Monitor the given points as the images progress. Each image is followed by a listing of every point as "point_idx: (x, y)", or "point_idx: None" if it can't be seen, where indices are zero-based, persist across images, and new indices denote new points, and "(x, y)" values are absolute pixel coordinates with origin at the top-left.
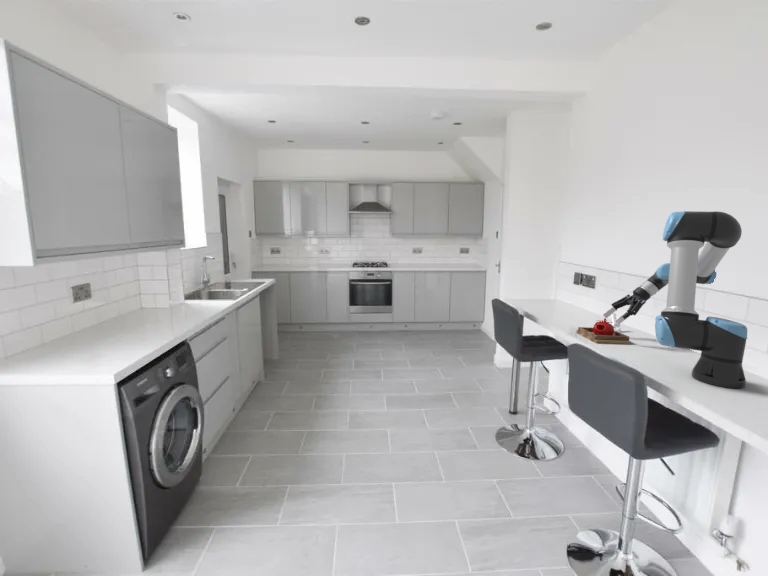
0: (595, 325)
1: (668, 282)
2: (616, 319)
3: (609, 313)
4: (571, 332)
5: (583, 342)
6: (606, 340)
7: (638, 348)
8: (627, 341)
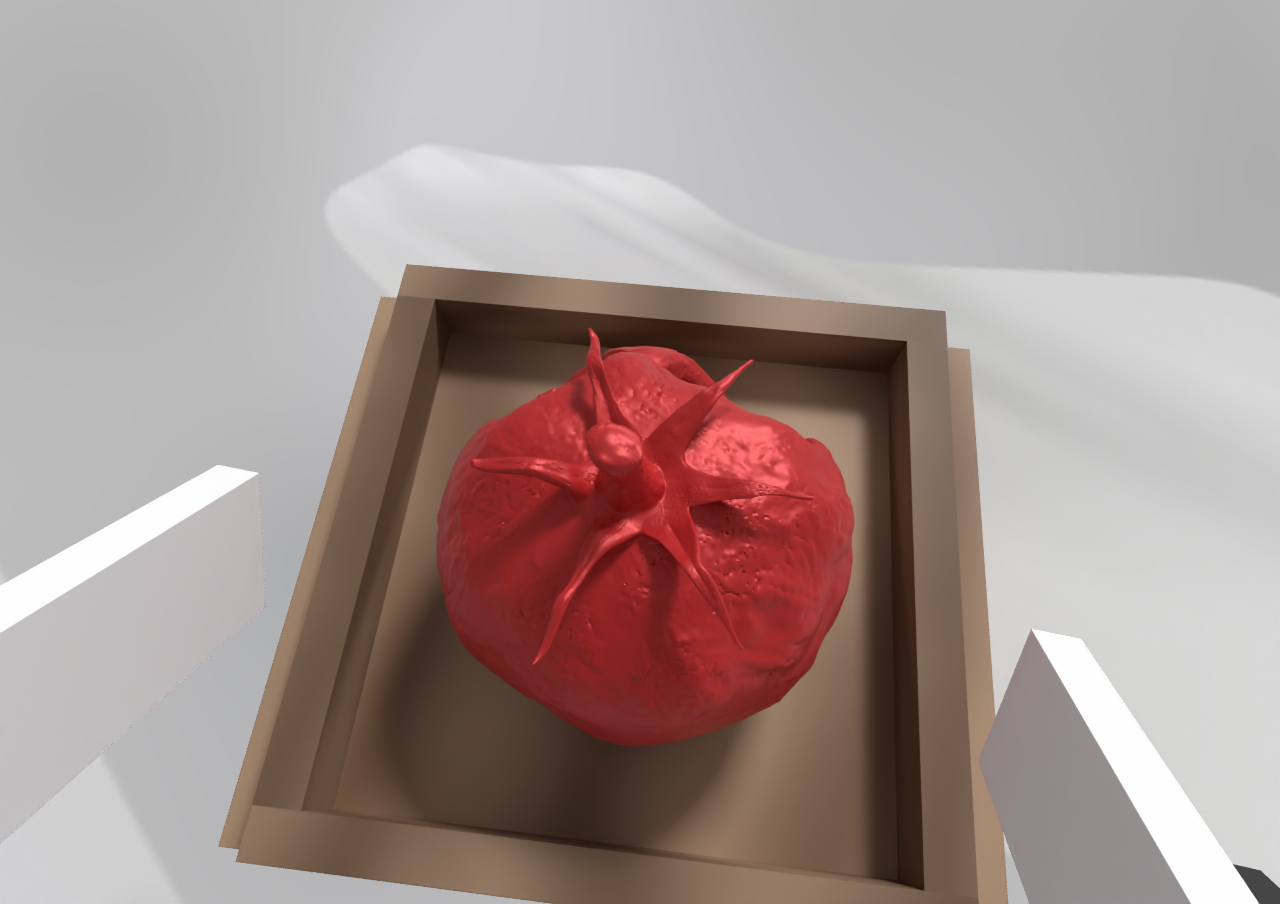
0: (651, 347)
1: None
2: (207, 478)
3: (1057, 860)
4: (959, 314)
5: (452, 197)
6: (353, 430)
7: None
8: (240, 774)
